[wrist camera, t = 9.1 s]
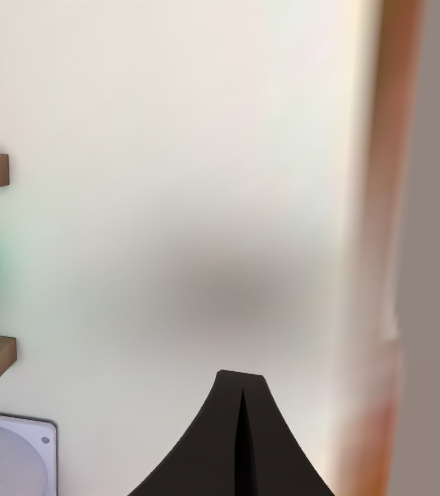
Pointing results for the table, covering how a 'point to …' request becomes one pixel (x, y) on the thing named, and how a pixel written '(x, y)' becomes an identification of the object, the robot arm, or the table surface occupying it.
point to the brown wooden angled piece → (3, 348)
